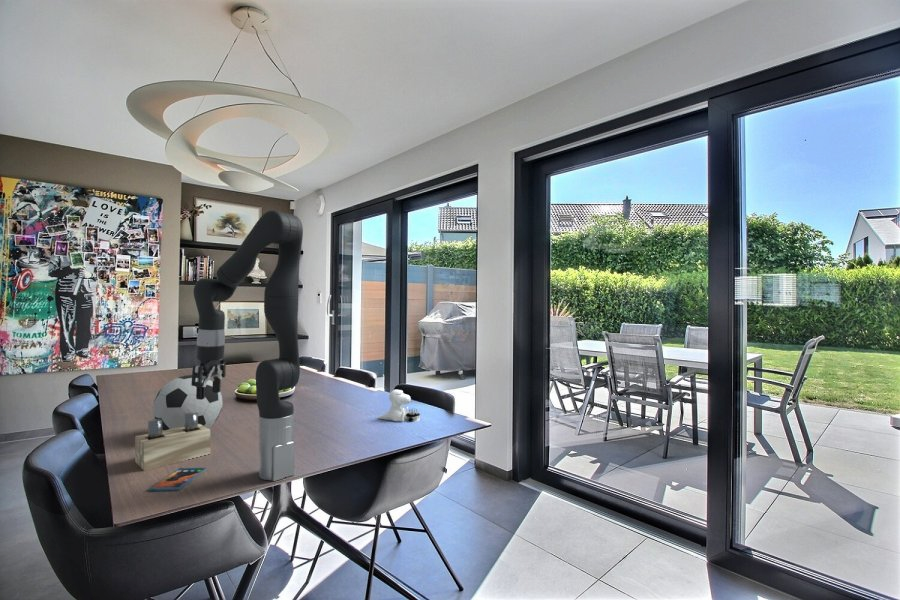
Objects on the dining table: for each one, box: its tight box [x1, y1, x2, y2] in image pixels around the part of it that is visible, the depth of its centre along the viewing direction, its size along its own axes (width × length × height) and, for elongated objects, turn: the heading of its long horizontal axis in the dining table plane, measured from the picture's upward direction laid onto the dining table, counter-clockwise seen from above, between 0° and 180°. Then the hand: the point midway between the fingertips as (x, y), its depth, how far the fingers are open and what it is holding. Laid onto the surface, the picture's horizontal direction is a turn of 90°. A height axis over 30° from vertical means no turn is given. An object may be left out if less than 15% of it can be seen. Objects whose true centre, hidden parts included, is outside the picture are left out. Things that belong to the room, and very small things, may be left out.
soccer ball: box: [152, 374, 223, 431], centre depth 160 cm, size 22×22×22 cm
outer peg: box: [147, 418, 163, 440], centre depth 134 cm, size 4×4×7 cm
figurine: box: [377, 389, 421, 423], centre depth 181 cm, size 8×18×12 cm, turn 81°
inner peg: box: [185, 413, 198, 432], centre depth 141 cm, size 4×4×7 cm
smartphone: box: [147, 467, 208, 492], centre depth 122 cm, size 8×1×15 cm
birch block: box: [134, 424, 211, 472], centre depth 137 cm, size 10×18×8 cm, turn 138°
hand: (208, 395), depth 134 cm, fingers open, 8 cm apart
